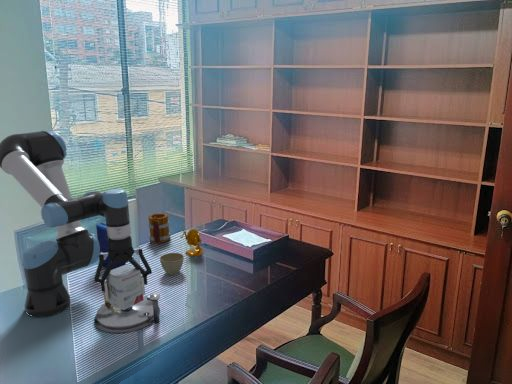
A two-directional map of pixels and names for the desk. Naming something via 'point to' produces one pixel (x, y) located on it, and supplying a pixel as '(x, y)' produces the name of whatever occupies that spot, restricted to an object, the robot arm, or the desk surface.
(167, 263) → the flower pot
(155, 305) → the turntable base
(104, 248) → the book
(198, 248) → the figurine
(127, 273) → the ink box
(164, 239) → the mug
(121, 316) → the turntable
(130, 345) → the desk surface
